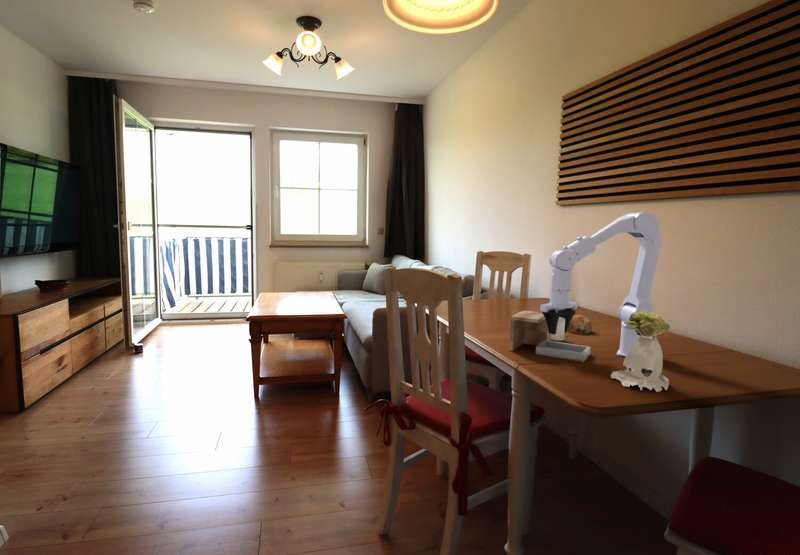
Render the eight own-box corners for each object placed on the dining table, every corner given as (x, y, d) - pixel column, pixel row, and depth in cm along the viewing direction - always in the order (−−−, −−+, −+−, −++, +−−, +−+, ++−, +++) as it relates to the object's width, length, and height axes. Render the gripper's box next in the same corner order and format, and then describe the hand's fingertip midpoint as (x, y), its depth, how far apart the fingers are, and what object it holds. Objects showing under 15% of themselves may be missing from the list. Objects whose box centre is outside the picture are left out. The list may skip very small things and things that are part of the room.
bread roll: (591, 340, 172) (594, 320, 174) (588, 334, 164) (591, 313, 166) (564, 336, 177) (568, 317, 179) (560, 330, 169) (563, 309, 171)
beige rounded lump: (556, 336, 142) (558, 316, 142) (567, 339, 138) (568, 319, 138) (545, 337, 140) (547, 317, 140) (556, 340, 136) (557, 320, 136)
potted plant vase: (647, 374, 121) (653, 307, 119) (680, 391, 108) (687, 316, 106) (605, 374, 120) (610, 307, 118) (633, 391, 107) (639, 316, 105)
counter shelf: (546, 346, 148) (549, 313, 146) (536, 355, 137) (538, 319, 136) (521, 342, 152) (523, 310, 151) (509, 350, 142) (511, 316, 140)
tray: (589, 354, 139) (590, 346, 139) (583, 362, 131) (584, 354, 130) (544, 347, 147) (544, 339, 146) (535, 354, 138) (536, 346, 138)
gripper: (554, 292, 130) (551, 338, 132) (587, 290, 138) (583, 333, 139) (536, 289, 136) (533, 333, 138) (568, 287, 144) (565, 328, 145)
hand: (557, 333), depth 139 cm, fingers closed on beige rounded lump, 4 cm apart
